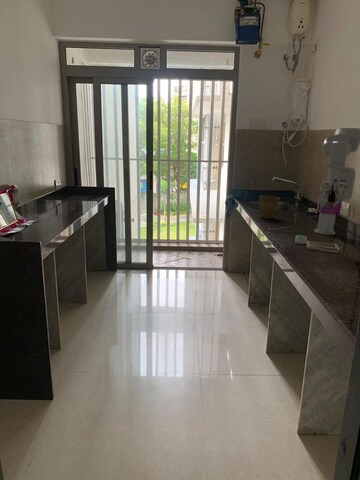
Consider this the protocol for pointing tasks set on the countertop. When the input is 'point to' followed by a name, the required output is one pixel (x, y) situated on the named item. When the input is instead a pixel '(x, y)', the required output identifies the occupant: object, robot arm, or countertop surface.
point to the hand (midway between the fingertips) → (330, 200)
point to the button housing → (300, 240)
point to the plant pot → (268, 205)
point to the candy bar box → (327, 206)
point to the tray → (322, 246)
